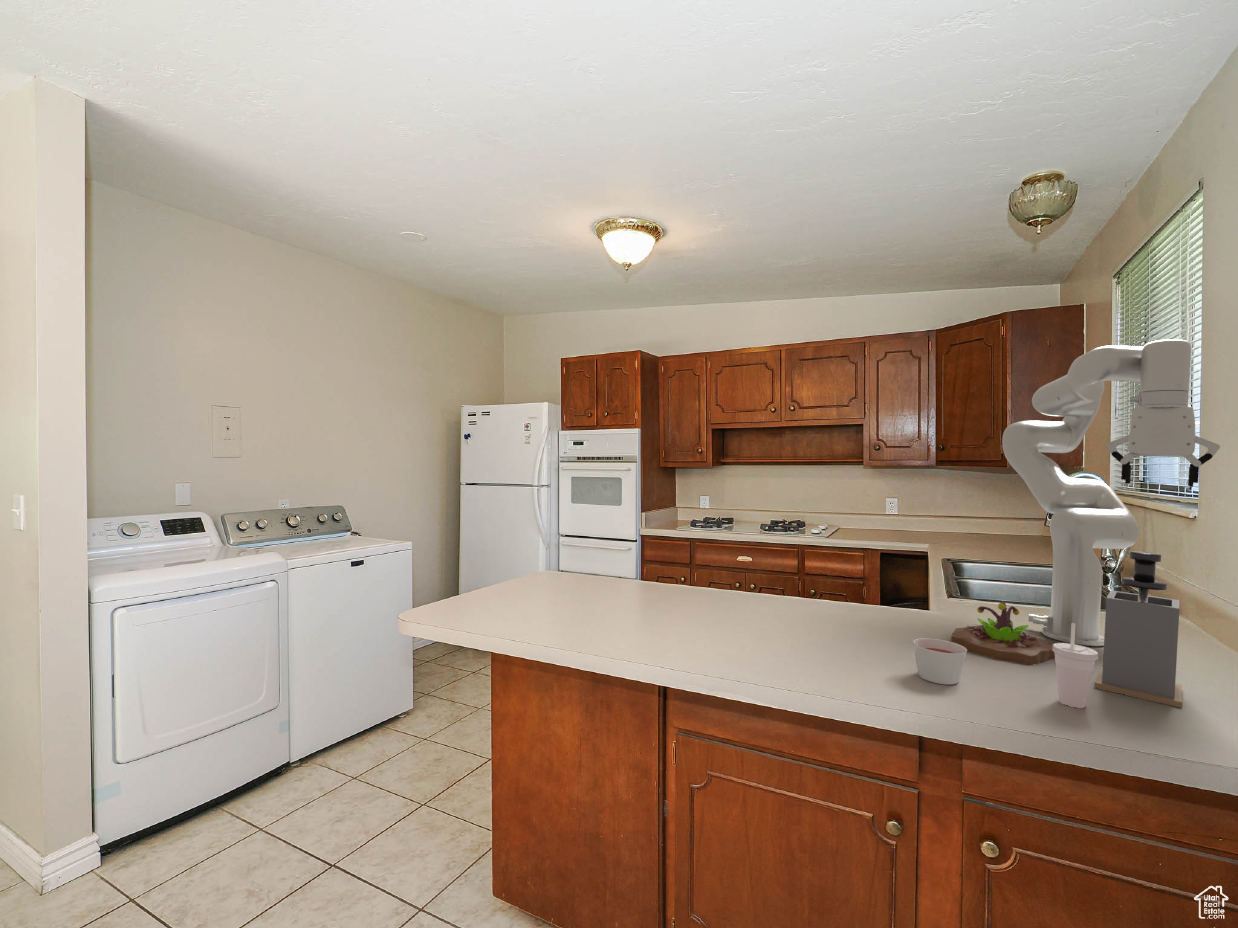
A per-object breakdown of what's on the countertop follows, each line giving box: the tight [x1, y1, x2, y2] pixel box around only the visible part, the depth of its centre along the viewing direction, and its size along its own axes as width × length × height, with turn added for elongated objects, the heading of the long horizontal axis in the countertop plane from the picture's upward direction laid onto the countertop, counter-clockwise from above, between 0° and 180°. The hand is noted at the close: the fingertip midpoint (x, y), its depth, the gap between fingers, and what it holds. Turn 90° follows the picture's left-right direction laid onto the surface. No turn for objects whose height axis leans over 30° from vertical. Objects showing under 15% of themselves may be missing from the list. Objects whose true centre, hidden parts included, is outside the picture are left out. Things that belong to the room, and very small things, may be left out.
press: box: [1093, 590, 1183, 709], centre depth 113 cm, size 12×12×17 cm
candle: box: [913, 637, 968, 686], centre depth 115 cm, size 9×9×6 cm
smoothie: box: [1052, 623, 1099, 709], centre depth 105 cm, size 6×6×14 cm
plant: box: [950, 601, 1055, 666], centre depth 136 cm, size 20×20×11 cm
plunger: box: [1121, 550, 1168, 603], centre depth 113 cm, size 7×7×24 cm
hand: (1158, 484), depth 124 cm, fingers open, 9 cm apart
